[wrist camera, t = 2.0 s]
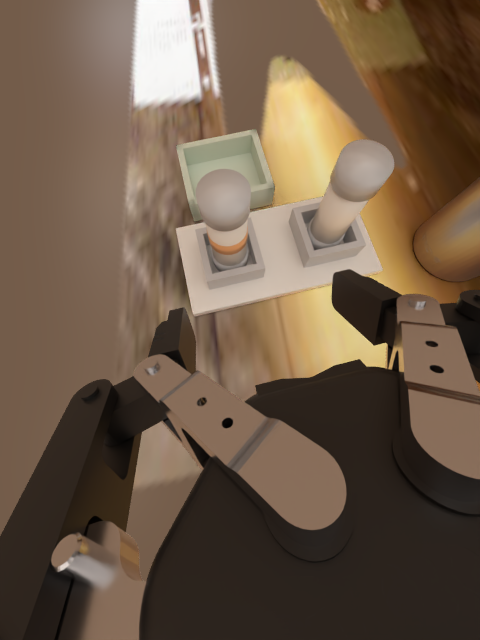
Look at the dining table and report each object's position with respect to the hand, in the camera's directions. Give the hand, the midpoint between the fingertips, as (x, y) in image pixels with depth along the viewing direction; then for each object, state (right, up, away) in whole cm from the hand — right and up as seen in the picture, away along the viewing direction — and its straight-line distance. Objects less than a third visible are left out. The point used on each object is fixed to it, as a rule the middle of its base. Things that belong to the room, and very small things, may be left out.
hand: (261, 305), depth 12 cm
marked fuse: (-2, +7, +17) cm, 18 cm away
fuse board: (+3, +8, +18) cm, 20 cm away
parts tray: (-3, +19, +20) cm, 28 cm away
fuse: (+9, +10, +17) cm, 22 cm away
